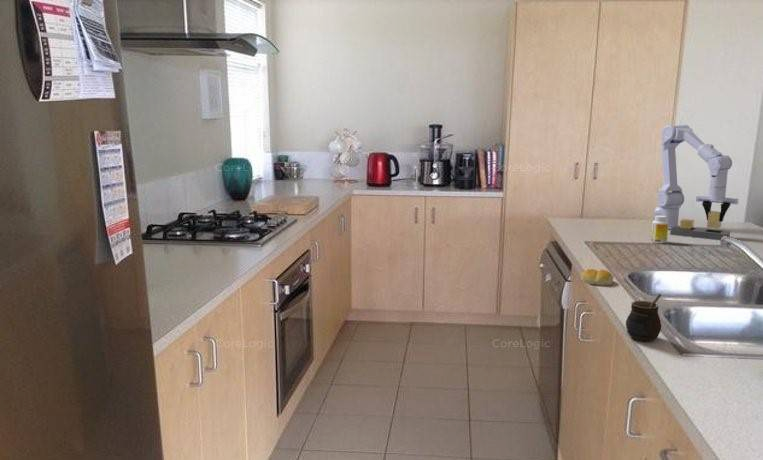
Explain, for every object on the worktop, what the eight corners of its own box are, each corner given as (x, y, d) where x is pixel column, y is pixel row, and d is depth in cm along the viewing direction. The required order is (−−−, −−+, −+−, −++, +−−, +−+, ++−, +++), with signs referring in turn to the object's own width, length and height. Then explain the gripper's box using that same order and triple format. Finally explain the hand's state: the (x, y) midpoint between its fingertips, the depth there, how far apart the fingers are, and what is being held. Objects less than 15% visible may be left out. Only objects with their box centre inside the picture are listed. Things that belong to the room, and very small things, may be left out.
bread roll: (584, 277, 184) (585, 264, 183) (614, 281, 180) (615, 268, 179) (577, 283, 177) (578, 270, 177) (609, 288, 173) (609, 274, 172)
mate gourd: (617, 335, 135) (620, 293, 134) (641, 330, 139) (644, 288, 137) (643, 346, 129) (646, 302, 127) (668, 340, 132) (671, 297, 130)
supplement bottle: (670, 242, 229) (672, 216, 227) (658, 244, 227) (660, 217, 225) (658, 240, 234) (660, 214, 232) (647, 241, 232) (649, 215, 230)
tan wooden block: (707, 227, 236) (708, 212, 235) (709, 225, 239) (711, 210, 238) (718, 228, 234) (719, 213, 233) (720, 226, 237) (722, 211, 236)
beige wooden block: (679, 234, 244) (680, 220, 243) (682, 233, 247) (683, 219, 246) (690, 235, 241) (691, 221, 240) (692, 234, 244) (694, 220, 243)
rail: (670, 234, 245) (670, 228, 244) (676, 231, 250) (676, 225, 250) (724, 240, 231) (725, 234, 231) (729, 237, 237) (730, 231, 237)
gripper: (694, 186, 236) (692, 220, 238) (736, 188, 226) (733, 224, 229) (699, 184, 241) (696, 217, 243) (740, 187, 231) (737, 221, 234)
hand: (714, 220), depth 236 cm, fingers closed on tan wooden block, 4 cm apart
